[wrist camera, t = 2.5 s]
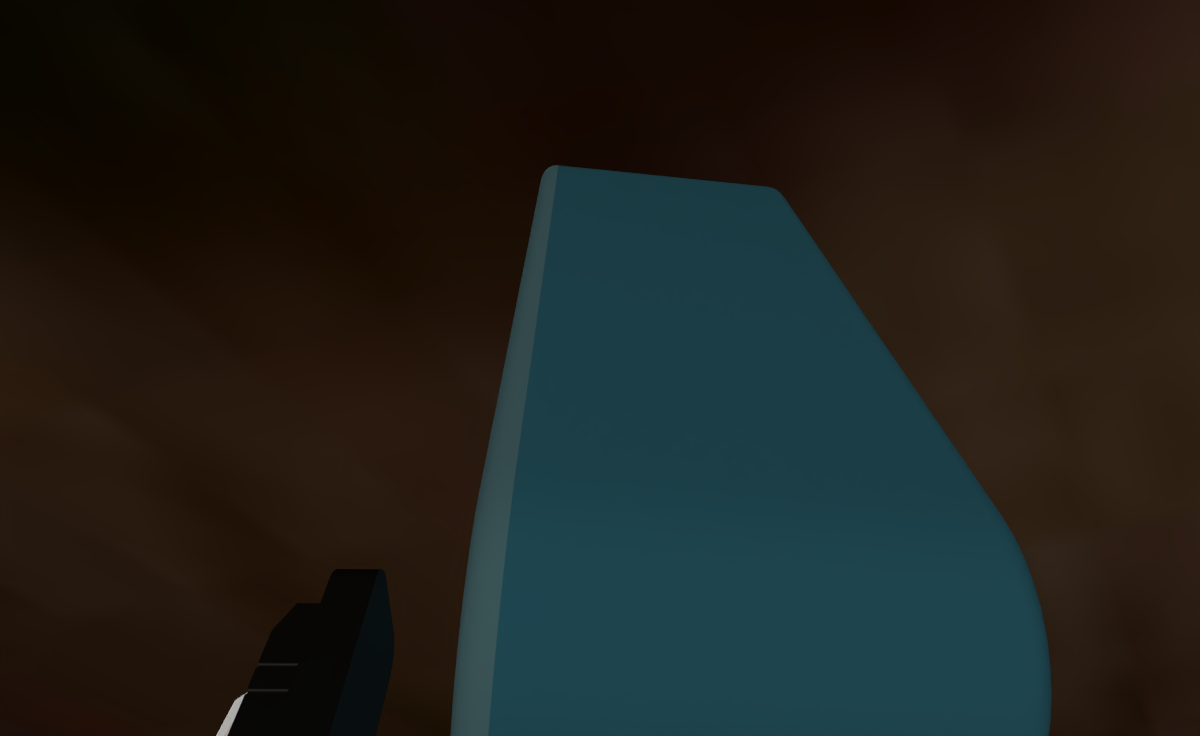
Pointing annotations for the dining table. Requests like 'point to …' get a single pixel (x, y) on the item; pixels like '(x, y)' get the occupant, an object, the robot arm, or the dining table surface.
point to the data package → (725, 497)
